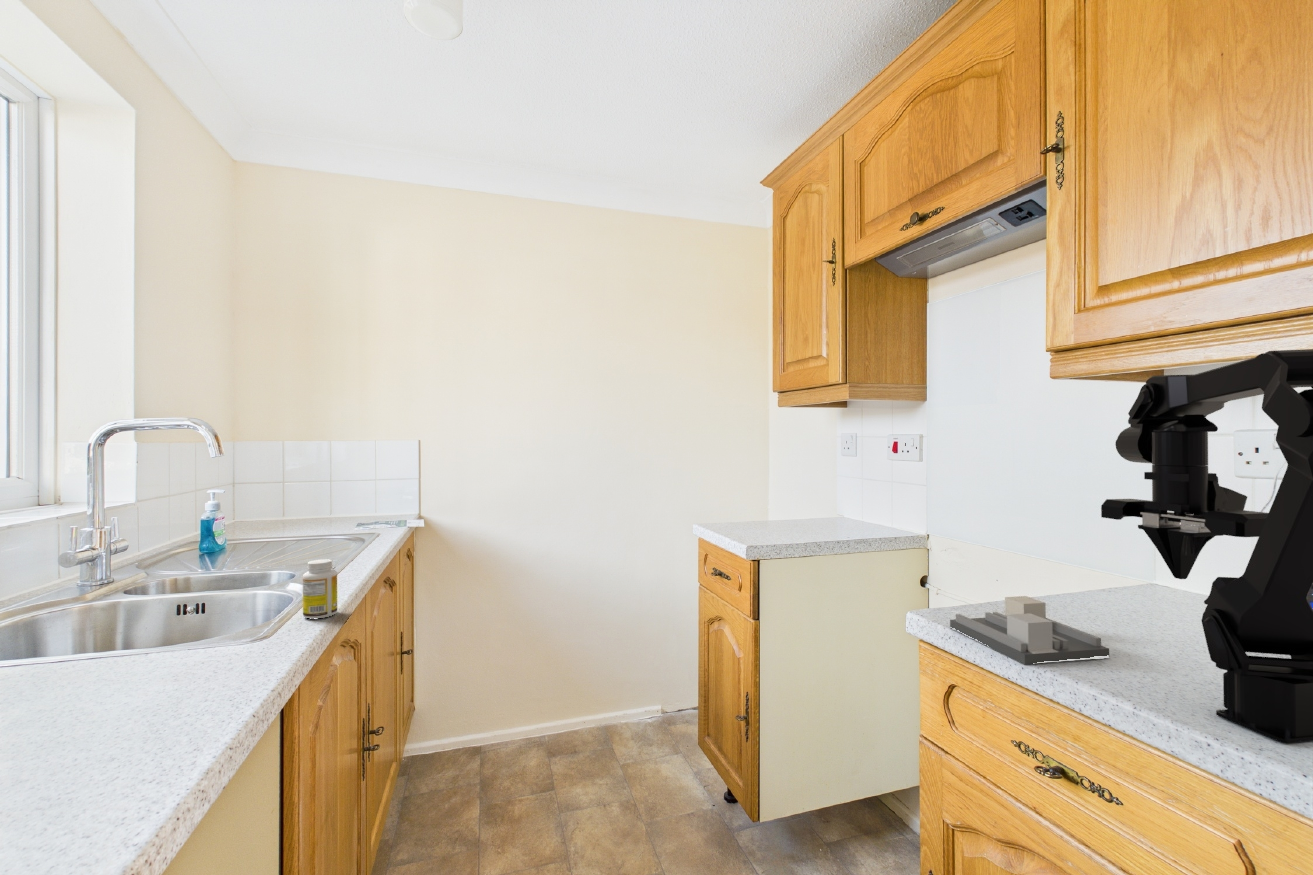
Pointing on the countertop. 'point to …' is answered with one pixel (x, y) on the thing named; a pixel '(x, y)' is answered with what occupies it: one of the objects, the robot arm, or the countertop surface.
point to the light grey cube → (1030, 631)
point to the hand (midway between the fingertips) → (1180, 578)
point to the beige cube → (1024, 606)
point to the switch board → (995, 636)
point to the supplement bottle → (320, 589)
